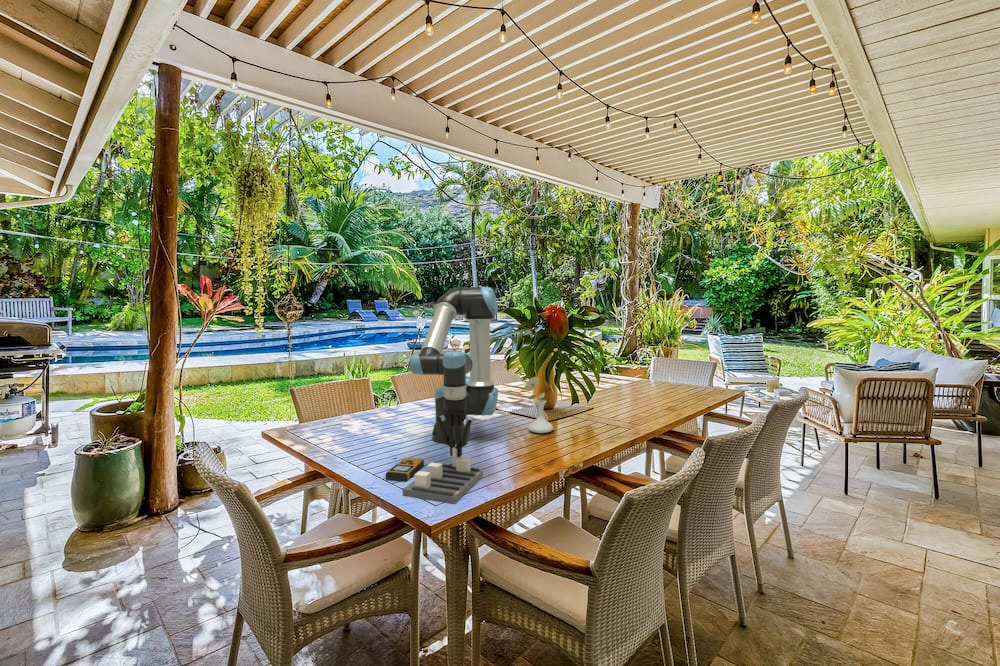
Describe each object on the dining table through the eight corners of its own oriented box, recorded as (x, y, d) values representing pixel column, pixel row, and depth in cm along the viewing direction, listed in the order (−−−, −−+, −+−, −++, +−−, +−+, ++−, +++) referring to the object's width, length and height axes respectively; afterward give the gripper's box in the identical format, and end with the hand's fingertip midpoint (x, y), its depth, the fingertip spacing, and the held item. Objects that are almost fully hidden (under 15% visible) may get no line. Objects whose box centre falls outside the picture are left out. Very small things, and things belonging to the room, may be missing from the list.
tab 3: (460, 469, 165) (460, 456, 165) (470, 470, 164) (470, 458, 163) (456, 472, 162) (456, 459, 162) (467, 474, 161) (467, 461, 161)
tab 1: (419, 484, 153) (419, 471, 152) (430, 486, 151) (430, 472, 151) (414, 488, 150) (414, 474, 149) (426, 490, 148) (425, 476, 148)
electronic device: (425, 466, 175) (425, 457, 175) (407, 483, 160) (407, 473, 160) (404, 465, 177) (403, 456, 177) (384, 481, 162) (384, 471, 162)
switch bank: (436, 470, 170) (435, 462, 170) (482, 476, 164) (482, 468, 164) (402, 495, 150) (402, 486, 150) (454, 503, 144) (454, 494, 143)
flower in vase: (547, 426, 222) (547, 373, 220) (557, 433, 212) (557, 377, 209) (520, 429, 218) (520, 375, 216) (530, 436, 207) (529, 379, 205)
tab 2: (431, 475, 160) (431, 462, 160) (442, 477, 159) (442, 463, 158) (427, 478, 157) (427, 465, 157) (438, 480, 156) (437, 467, 155)
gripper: (432, 398, 160) (434, 467, 163) (468, 401, 156) (469, 471, 158) (442, 394, 167) (444, 459, 170) (477, 396, 163) (478, 464, 165)
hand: (456, 465), depth 164 cm, fingers closed
